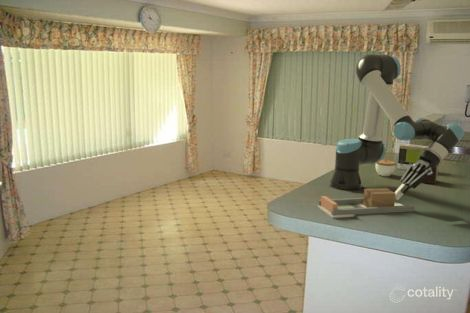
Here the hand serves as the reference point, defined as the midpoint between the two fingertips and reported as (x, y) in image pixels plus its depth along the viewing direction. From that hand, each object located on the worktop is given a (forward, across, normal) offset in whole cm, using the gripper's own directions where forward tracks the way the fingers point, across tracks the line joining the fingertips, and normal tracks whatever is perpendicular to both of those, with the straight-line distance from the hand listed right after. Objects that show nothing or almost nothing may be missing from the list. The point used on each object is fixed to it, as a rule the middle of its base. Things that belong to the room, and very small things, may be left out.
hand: (395, 197), depth 170 cm
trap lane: (+12, +2, +5) cm, 13 cm away
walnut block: (+7, +2, +2) cm, 8 cm away
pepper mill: (-29, +42, -40) cm, 66 cm away
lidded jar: (-18, +57, -28) cm, 66 cm away
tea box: (-36, +67, -47) cm, 90 cm away
